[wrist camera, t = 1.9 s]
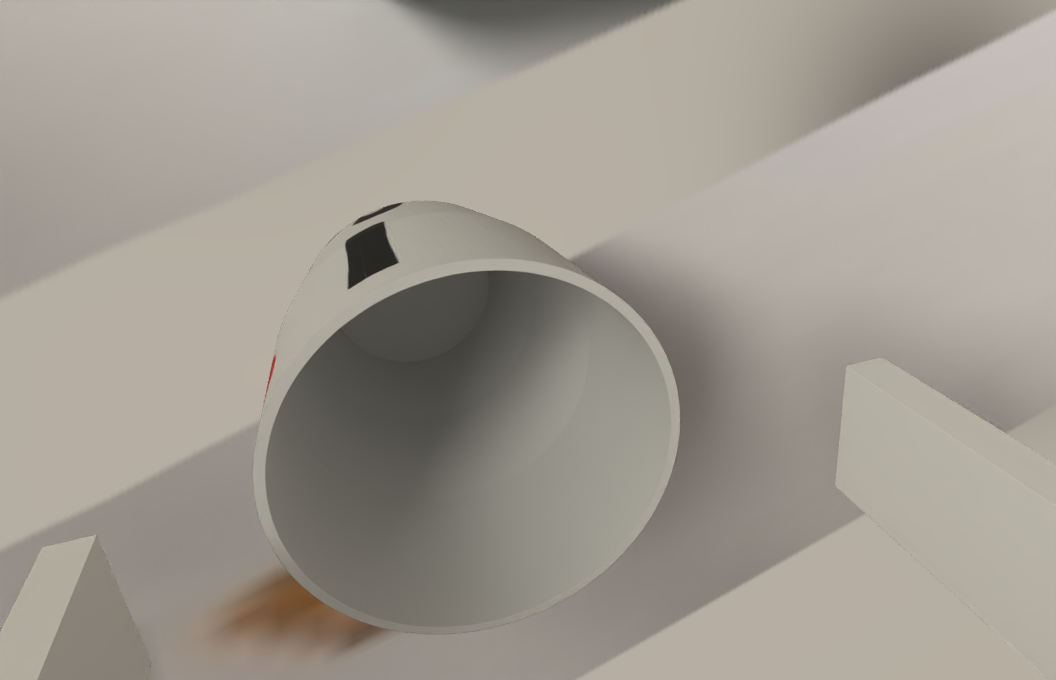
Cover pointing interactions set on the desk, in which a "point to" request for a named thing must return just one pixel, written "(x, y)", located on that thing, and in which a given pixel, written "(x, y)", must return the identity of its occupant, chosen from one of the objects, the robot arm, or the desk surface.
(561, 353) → the cup
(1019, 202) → the desk surface
